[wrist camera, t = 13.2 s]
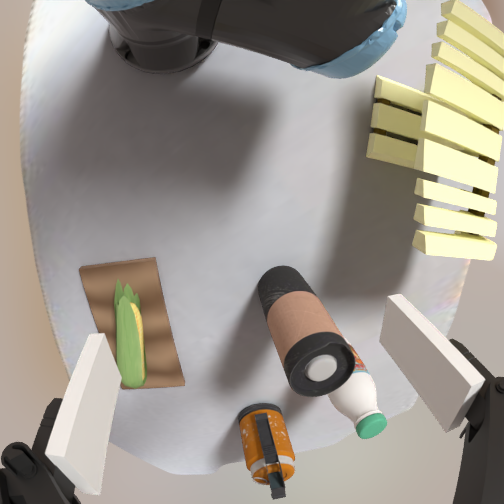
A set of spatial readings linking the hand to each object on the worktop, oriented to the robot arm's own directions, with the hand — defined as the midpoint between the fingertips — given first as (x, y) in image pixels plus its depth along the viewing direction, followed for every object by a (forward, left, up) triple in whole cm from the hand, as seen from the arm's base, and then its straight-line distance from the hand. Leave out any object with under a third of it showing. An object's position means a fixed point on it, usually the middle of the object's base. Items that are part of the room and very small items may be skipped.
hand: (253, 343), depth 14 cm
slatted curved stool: (-9, +31, -32) cm, 45 cm away
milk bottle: (+30, +17, -32) cm, 47 cm away
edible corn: (+19, -16, -31) cm, 39 cm away
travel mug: (+15, +8, -32) cm, 36 cm away
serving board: (+20, -16, -32) cm, 40 cm away
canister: (+44, +3, -32) cm, 54 cm away
